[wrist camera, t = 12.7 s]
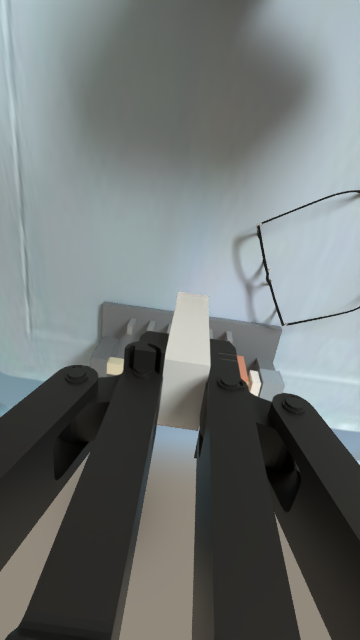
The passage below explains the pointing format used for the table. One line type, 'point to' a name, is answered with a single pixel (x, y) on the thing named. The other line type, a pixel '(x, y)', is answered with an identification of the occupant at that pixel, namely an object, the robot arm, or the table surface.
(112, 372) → the cream long bar
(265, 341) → the cable comb board
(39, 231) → the table surface
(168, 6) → the table surface
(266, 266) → the eyeglasses
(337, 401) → the table surface
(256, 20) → the table surface
